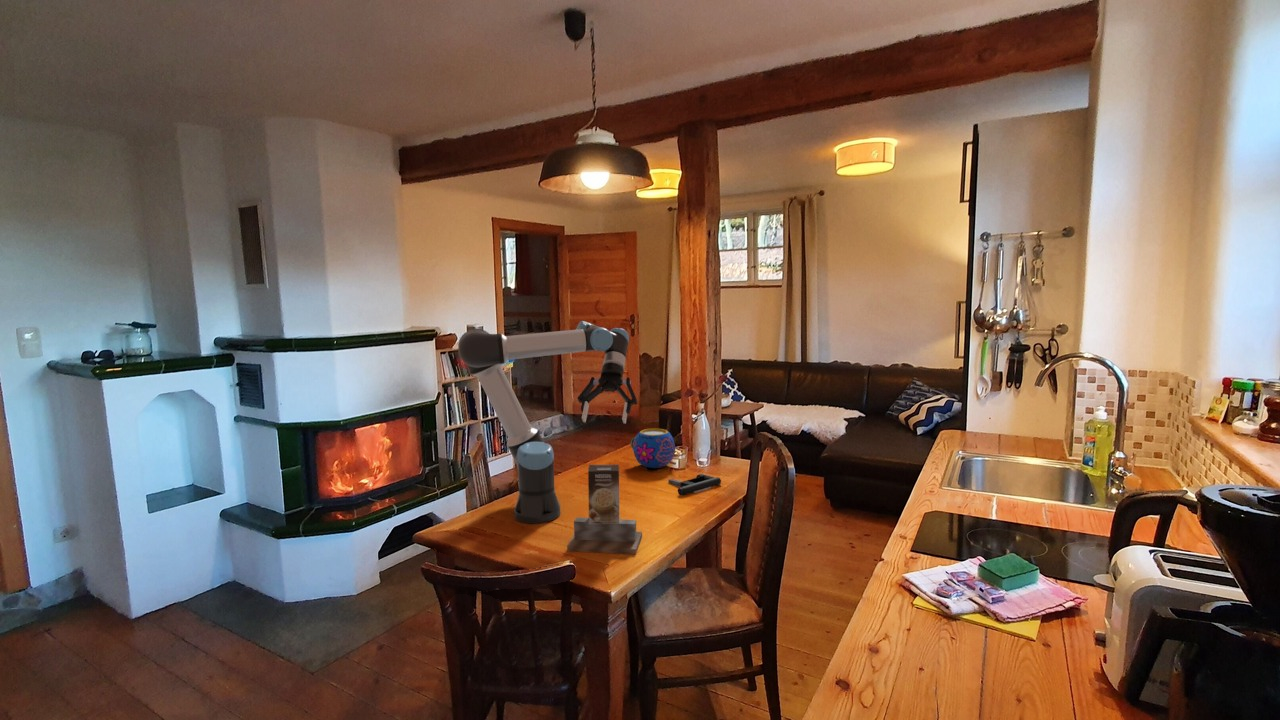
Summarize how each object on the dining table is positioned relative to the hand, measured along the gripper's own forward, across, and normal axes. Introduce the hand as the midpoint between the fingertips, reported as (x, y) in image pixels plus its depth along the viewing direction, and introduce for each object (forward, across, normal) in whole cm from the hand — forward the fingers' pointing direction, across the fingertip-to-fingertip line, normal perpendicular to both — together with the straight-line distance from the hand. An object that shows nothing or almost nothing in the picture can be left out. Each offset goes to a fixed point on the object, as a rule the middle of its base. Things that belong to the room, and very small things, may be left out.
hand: (603, 420), depth 196 cm
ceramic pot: (-13, -7, -60) cm, 62 cm away
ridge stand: (+38, -6, -5) cm, 39 cm away
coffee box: (+33, -6, 0) cm, 34 cm away
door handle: (+2, -25, -44) cm, 51 cm away
